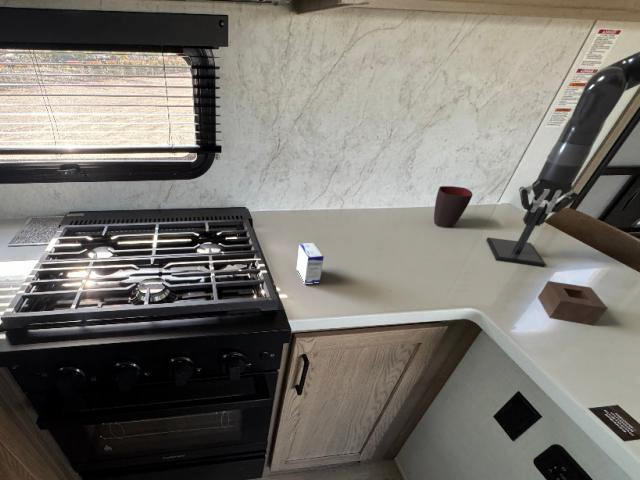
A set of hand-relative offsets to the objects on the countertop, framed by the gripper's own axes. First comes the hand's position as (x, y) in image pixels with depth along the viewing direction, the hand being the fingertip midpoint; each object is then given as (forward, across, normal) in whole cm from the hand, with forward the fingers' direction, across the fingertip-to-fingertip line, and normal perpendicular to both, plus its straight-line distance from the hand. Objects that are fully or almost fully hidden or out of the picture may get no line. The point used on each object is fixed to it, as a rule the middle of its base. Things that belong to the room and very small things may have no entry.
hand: (531, 224), depth 98 cm
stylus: (+9, 0, 0) cm, 9 cm away
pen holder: (+10, +4, -27) cm, 29 cm away
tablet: (+10, 0, +2) cm, 10 cm away
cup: (+10, -18, +20) cm, 29 cm away
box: (+10, -57, -32) cm, 66 cm away
